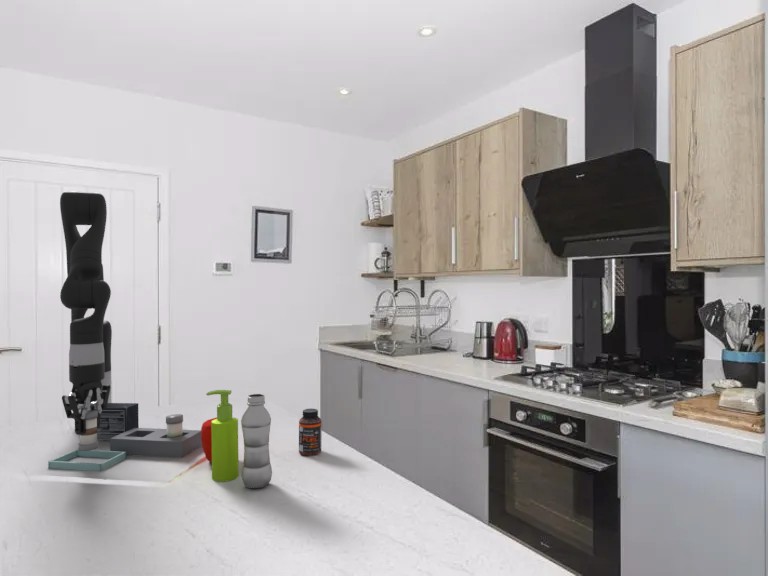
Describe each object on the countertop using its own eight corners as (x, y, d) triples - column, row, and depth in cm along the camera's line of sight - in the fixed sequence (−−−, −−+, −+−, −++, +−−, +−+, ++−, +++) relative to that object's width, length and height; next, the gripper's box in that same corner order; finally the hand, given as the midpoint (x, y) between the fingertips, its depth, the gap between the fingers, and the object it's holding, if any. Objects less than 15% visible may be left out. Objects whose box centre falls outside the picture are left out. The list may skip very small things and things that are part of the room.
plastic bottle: (277, 482, 115) (277, 393, 115) (261, 493, 109) (260, 400, 109) (253, 478, 117) (252, 391, 117) (235, 490, 111) (234, 397, 111)
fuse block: (110, 457, 132) (109, 419, 132) (135, 445, 142) (134, 409, 142) (182, 461, 129) (181, 422, 129) (202, 448, 139) (201, 412, 139)
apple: (233, 466, 125) (232, 422, 125) (196, 467, 125) (196, 423, 125) (240, 454, 134) (240, 413, 134) (206, 455, 134) (206, 414, 133)
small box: (140, 438, 149) (140, 402, 149) (126, 445, 142) (126, 407, 142) (106, 437, 150) (105, 401, 150) (91, 444, 143) (90, 407, 143)
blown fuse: (74, 450, 124) (73, 413, 124) (86, 445, 128) (86, 409, 128) (89, 451, 123) (89, 414, 123) (102, 446, 127) (101, 409, 127)
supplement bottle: (300, 457, 131) (300, 413, 131) (297, 450, 137) (296, 408, 137) (323, 455, 133) (323, 411, 133) (319, 448, 139) (318, 406, 139)
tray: (48, 471, 122) (48, 461, 122) (76, 459, 131) (76, 449, 131) (101, 475, 120) (101, 464, 120) (126, 461, 129) (126, 451, 129)
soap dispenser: (210, 472, 121) (210, 388, 121) (240, 471, 122) (239, 387, 122) (204, 482, 115) (203, 393, 115) (235, 481, 116) (234, 392, 116)
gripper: (94, 357, 133) (94, 423, 133) (50, 365, 119) (51, 439, 119) (120, 357, 132) (121, 424, 132) (78, 366, 118) (79, 440, 118)
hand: (87, 431), depth 126 cm, fingers closed on blown fuse, 4 cm apart
